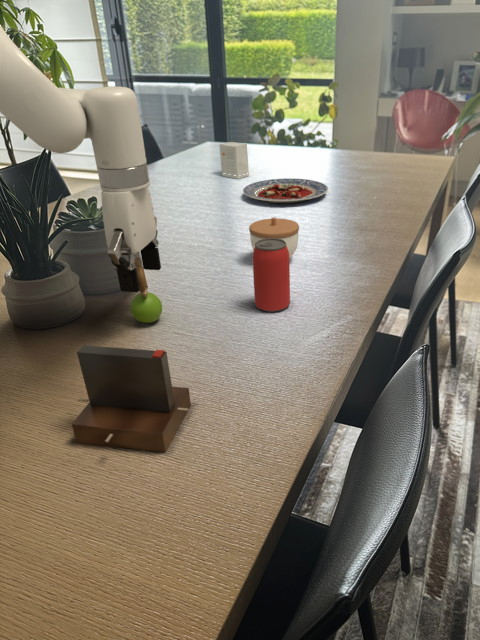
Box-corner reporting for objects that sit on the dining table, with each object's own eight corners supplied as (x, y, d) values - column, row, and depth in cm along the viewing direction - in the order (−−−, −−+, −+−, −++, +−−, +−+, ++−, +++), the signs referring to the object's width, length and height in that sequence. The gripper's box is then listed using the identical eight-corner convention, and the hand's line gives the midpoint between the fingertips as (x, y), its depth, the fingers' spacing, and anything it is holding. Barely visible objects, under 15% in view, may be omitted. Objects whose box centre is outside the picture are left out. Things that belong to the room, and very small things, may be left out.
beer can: (253, 299, 105) (250, 238, 99) (287, 296, 106) (286, 236, 99) (256, 314, 100) (253, 250, 93) (292, 311, 100) (291, 248, 94)
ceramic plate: (314, 210, 153) (315, 200, 152) (230, 204, 161) (229, 194, 159) (337, 187, 174) (337, 178, 172) (260, 183, 181) (260, 174, 180)
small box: (249, 176, 190) (247, 143, 185) (237, 179, 187) (235, 146, 181) (233, 173, 195) (230, 141, 189) (221, 176, 191) (219, 143, 186)
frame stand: (54, 454, 68) (48, 434, 66) (108, 387, 81) (104, 368, 79) (170, 468, 66) (167, 447, 64) (207, 395, 78) (205, 377, 76)
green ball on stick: (161, 310, 102) (151, 248, 96) (166, 325, 97) (156, 260, 90) (131, 315, 101) (119, 252, 94) (135, 330, 95) (122, 265, 89)
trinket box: (303, 266, 119) (303, 223, 114) (254, 270, 117) (251, 227, 112) (294, 249, 128) (293, 209, 122) (248, 253, 126) (246, 212, 121)
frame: (90, 405, 72) (76, 350, 67) (96, 397, 73) (83, 343, 69) (170, 412, 70) (161, 357, 65) (174, 404, 71) (166, 349, 67)
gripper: (124, 164, 93) (141, 260, 102) (74, 190, 79) (98, 300, 88) (166, 164, 92) (179, 262, 101) (123, 191, 78) (142, 302, 87)
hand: (141, 279), depth 95 cm, fingers open, 9 cm apart
